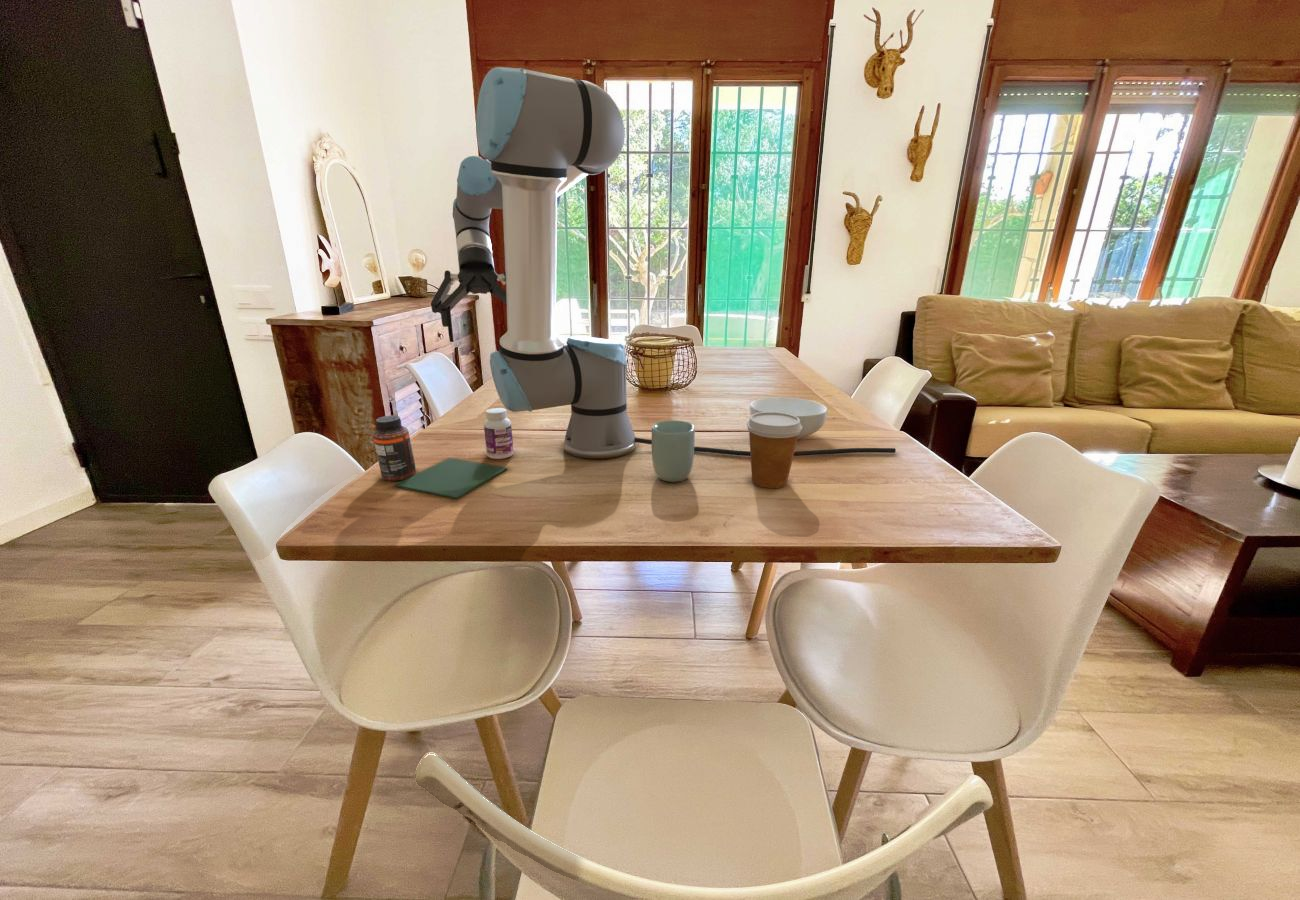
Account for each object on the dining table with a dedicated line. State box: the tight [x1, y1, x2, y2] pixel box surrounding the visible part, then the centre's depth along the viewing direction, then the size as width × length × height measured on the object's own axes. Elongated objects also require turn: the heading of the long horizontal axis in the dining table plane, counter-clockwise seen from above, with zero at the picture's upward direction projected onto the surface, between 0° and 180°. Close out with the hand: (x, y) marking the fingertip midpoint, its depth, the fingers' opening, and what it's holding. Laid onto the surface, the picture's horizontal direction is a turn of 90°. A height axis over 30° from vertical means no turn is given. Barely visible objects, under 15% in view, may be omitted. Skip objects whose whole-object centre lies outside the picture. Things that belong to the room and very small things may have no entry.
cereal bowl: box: [749, 396, 828, 440], centre depth 118 cm, size 17×17×7 cm
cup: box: [651, 419, 696, 483], centre depth 94 cm, size 8×8×10 cm
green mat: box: [393, 457, 508, 500], centre depth 96 cm, size 14×14×1 cm
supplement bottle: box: [372, 414, 417, 482], centre depth 95 cm, size 6×6×11 cm
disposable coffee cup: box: [746, 412, 802, 489], centre depth 92 cm, size 10×10×12 cm
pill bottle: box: [483, 407, 514, 460], centre depth 105 cm, size 5×5×10 cm
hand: (485, 337), depth 110 cm, fingers open, 13 cm apart
